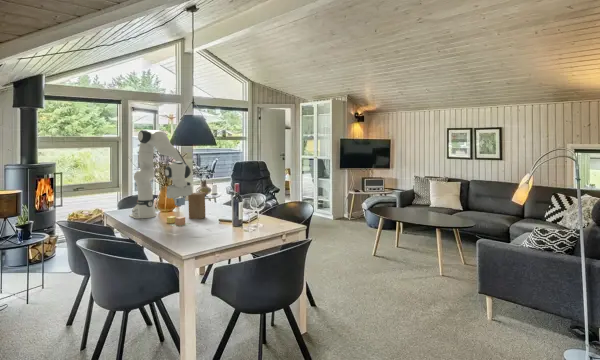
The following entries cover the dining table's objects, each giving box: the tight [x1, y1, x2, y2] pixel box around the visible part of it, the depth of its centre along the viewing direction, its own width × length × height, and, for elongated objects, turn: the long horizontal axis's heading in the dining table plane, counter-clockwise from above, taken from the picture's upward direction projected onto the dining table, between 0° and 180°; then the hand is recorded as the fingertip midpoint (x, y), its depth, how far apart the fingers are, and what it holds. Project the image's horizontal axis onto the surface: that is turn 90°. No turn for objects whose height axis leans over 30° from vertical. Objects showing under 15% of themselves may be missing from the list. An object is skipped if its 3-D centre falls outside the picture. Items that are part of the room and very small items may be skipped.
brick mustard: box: [166, 215, 177, 224], centre depth 279 cm, size 5×5×5 cm
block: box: [187, 192, 206, 220], centre depth 296 cm, size 10×10×20 cm
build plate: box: [169, 222, 192, 228], centre depth 272 cm, size 12×12×1 cm
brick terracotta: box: [174, 216, 186, 225], centre depth 272 cm, size 5×5×5 cm
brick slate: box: [174, 197, 186, 207], centre depth 270 cm, size 5×5×5 cm
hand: (179, 202), depth 270 cm, fingers closed on brick slate, 5 cm apart
